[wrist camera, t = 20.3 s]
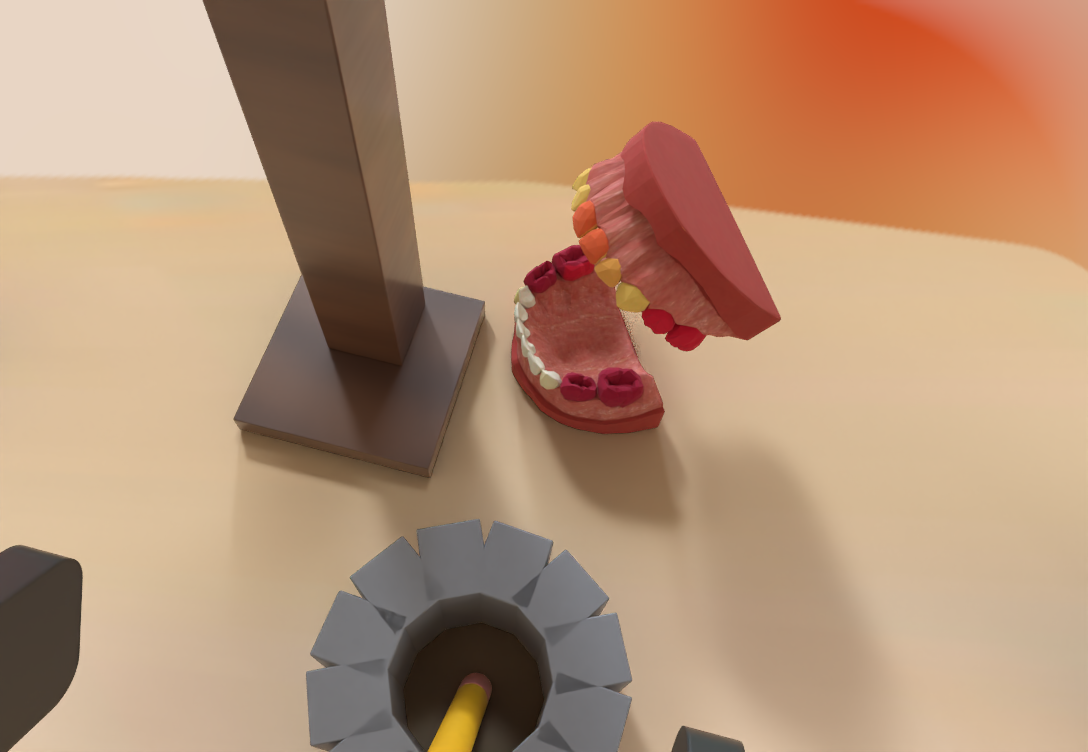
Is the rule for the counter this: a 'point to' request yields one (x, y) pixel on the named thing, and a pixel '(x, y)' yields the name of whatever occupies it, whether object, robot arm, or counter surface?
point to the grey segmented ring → (457, 600)
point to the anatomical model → (634, 284)
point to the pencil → (463, 716)
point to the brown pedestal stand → (343, 239)
